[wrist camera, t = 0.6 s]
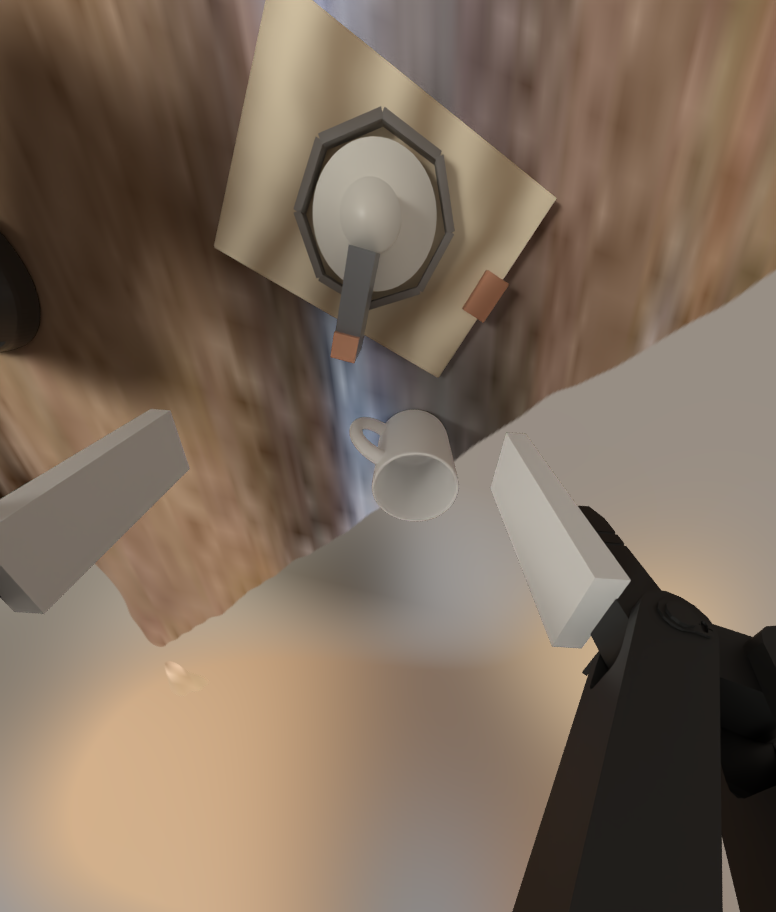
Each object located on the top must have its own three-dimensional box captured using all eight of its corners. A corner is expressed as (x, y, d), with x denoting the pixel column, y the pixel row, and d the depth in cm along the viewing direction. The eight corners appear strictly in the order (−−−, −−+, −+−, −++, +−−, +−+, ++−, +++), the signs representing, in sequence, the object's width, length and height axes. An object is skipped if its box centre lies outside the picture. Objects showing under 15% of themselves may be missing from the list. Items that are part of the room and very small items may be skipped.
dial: (326, 125, 24) (299, 80, 18) (452, 165, 25) (466, 135, 19) (305, 329, 32) (282, 344, 26) (401, 355, 32) (400, 375, 27)
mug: (341, 430, 39) (322, 480, 30) (376, 375, 35) (366, 413, 26) (420, 476, 42) (424, 533, 33) (461, 430, 38) (477, 481, 29)
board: (220, 247, 29) (203, 246, 27) (278, -18, 21) (262, -53, 19) (440, 376, 35) (442, 384, 32) (554, 203, 27) (569, 197, 24)
